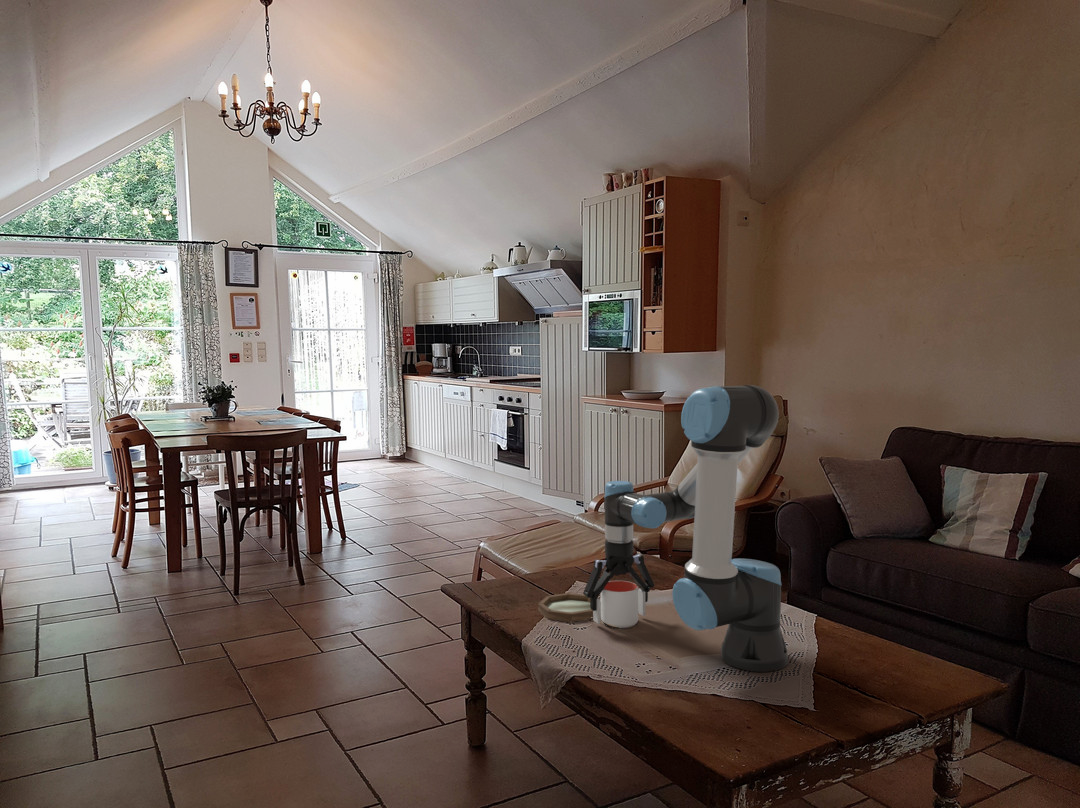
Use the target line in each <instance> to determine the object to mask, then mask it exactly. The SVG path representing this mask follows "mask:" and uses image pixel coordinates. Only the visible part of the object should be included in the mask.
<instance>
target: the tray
mask: <svg viewBox="0 0 1080 808" xmlns="http://www.w3.org/2000/svg"><path fill="white" fill-rule="evenodd" d="M537 609H538V610H537V612H538V613H540V614H541V615H542V616H543V617H545V618H546V619H547V620H553V621H558V620H559V621H561V622H567V623H576V622H580V621H586V620H587V619H588V620H590V619H589V618H591V617H593V610H591V608H590V598H588V597H587V596H585V595H584V594H583V593H582V594H580V593H573V592H572V593H571V592H565V593H558V594H553V595H546V596H545V597H543V599H542V600H541V601H539V602H538V603H537ZM600 612H601V601H600ZM559 621H558V622H559Z"/></svg>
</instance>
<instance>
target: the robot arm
mask: <svg viewBox="0 0 1080 808" xmlns="http://www.w3.org/2000/svg"><path fill="white" fill-rule="evenodd" d="M779 414H780V412H779V407H778V403H777V401H776V400H775V398H774V396H773V395H772V394H771V393H770V392H769V391H768V390H766V389H765V388H763V387H761V386H757V385H752V384H748V385H747V384H746V385H725V386H724V385H723V386H716V385H715V386H714V385H713V386H710V387H702V388H699V389H696V390H695V391H693V392H692V393H691V394H690V395H689V396H688V397H687V399H686V400H685V402H684V404H683V407H682V411H681V417H680V419H681V420H680V423H681V427H682V429H683V430H684V431H683V433H684V435H685V436H686V438H687V439H688V440H690V441H691V443H690V444H691V446H690V447H691V449H692V450H693V451H694V452H695V453H696V454H697V459H696V460H697V462H696V464H695V465H694V466H693V468H692V469H691V470H690V471H689V472H688V473H687V475H686V476H684V478H683V479H682V480H681V482H680V483H679V484H678V485H677V487H675V489H674V490H672V491H665V492H657V493H651V494H640V493H637V492H636V493H635V492H634V491H635V490H634V485H633V483H632V482H630V481H629V480H612V481H608V482H606V484H605V486H604V496H603V499H604V501H603V502H604V538H605V541H604V554H605V558H604V560H602V559H601V560H599V559H598V558H596V559H594V561H593V569H592V571H591V574H590V576H589V579H588V581H587V582H586V585H585V588H584V590H583V592H582V595H585V596H587V597H588V598H590V608H591V610H593V619H592V621H593V622H595V623H596V624H601V611H600V602H601V598H600V597H599V596H601V592H602V590H603V589H604V587H605V586H606V584H607V583H608V582H609V581H611V579H613V578H614V576H616V577H617V576H620V575H623V576H625V575H627V574H628V575H629V576H630V577H631V578H632V580H633V581H634V582H635V584H636V585H637V586H638V615H639V614H640V615H641V616H643V617H645V616H646V603H648V601H649V597H648V595H649V594H648V593H649V592H650V591H651V588H652V589H653V588H654V587H655V583H654V581H653V579H652V576H651V575H650V572H649V570H648V569H647V566H646V564H645V558H644V557H645V556H643V555H641V554H640V553H636V554H635V555H634V541H633V539H634V524H635V525H637V526H639V527H642V528H645V529H646V528H647V529H657V528H659V527H660V526H661V525H663V524H664V523H669V522H674V521H680V520H691V519H693V518H694V519H693V537H692V539H693V540H692V553H691V554H692V555H691V556H692V557H691V558H690V559H689V560H688V561H687V562H686V563H685V564H684V577H683V578H679V579H678V580H677V581H676V582H675V583H674V584H673V587H672V591H671V592H672V593H671V595H672V603H673V606H674V608H675V611H676V613H677V614H678V617H679V618H680V619H681V621H682V622H683V623H684V624H685V625H686V626H687V627H688V628H690V629H693V630H695V631H705V630H715V628H719V627H722V626H727V625H728V626H727V629H726V632H725V634H724V635H725V636H724V639H723V641H722V642H721V643H722V644H721V646H720V647H721V648H720V657H721V659H722V660H723V661H724V663H726V664H727V665H729V666H731V667H734V668H737V669H739V670H743V671H744V670H745V671H748V672H749V671H750V672H759V673H760V672H764V673H765V672H766V673H767V672H774V671H778V670H781V669H784V668H785V667H786V666H787V665H788V663H789V653H788V649H787V646H786V642H785V639H784V636H783V632H782V630H781V614H782V613H781V612H782V611H781V608H782V603H781V602H782V584H783V583H782V580H781V577H782V576H781V571H780V569H779V567H778V566H776V565H775V564H773V563H770V562H767V561H762V560H758V559H752V558H732V557H733V540H734V528H735V512H736V509H735V508H736V498H737V497H736V496H737V495H736V493H737V479H738V478H737V477H738V465H739V464H740V463H741V462H742V461H743V460H744V459H745V457H746V456H747V455H748V454H750V452H751V451H752V450H753V449H758V448H760V447H762V446H763V445H764V444H765V442H767V441H768V439H769V438H770V437H771V436H772V435H773V433H774V431H775V429H776V427H777V425H778V422H779V417H780V415H779ZM634 563H636V566H637V568H638V570H639V572H640V574H641V577H642V578H641V577H640V575H638V573H637V571H636V570H635V569H634V568H633V567H632V566H633V564H634ZM603 569H604V570H603ZM602 570H603V572H602Z"/></svg>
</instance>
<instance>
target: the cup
mask: <svg viewBox="0 0 1080 808" xmlns="http://www.w3.org/2000/svg"><path fill="white" fill-rule="evenodd" d="M638 589H639V585H638V584H637V583H636V582H635V583H634V582H631V581H627V580H609V582H608V583H607V584H606V586H605V587H604V589H603V590H602V592H601V593H600V602H601V611H600V621H601V620H602V621H603V622H604V623H607V624H611V625H614V626H616V627H619V628H618V629H626V628H632V627H633V626H635V625H637V623H638V621H639V613H638ZM602 621H601V622H602ZM603 622H602V623H603ZM604 623H603V624H604Z"/></svg>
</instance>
